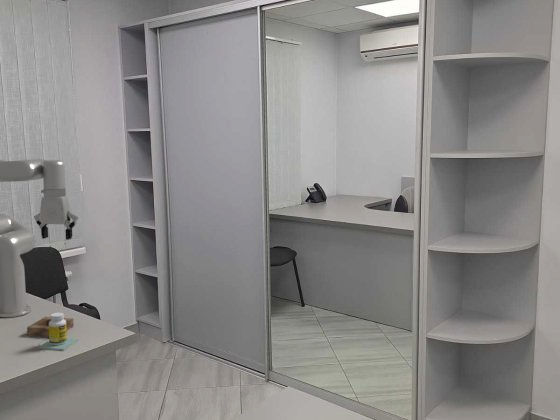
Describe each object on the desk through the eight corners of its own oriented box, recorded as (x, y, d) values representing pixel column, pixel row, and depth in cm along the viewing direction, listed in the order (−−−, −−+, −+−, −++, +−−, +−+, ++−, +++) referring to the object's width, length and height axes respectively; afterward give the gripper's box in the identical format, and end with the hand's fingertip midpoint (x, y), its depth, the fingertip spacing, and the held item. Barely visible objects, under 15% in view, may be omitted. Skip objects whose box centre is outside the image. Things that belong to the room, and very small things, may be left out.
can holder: (27, 335, 191) (27, 327, 190) (45, 324, 202) (45, 316, 201) (56, 337, 189) (56, 329, 189) (73, 326, 200) (73, 318, 199)
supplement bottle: (61, 346, 180) (59, 317, 179) (46, 345, 181) (44, 316, 180) (70, 340, 185) (69, 312, 184) (55, 339, 186) (54, 311, 185)
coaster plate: (38, 348, 179) (38, 347, 179) (53, 338, 188) (53, 337, 188) (63, 350, 178) (63, 349, 178) (78, 340, 187) (78, 338, 187)
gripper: (27, 193, 202) (30, 239, 205) (71, 195, 200) (73, 241, 202) (39, 191, 210) (41, 235, 212) (81, 193, 207) (83, 237, 209)
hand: (57, 238), depth 207 cm, fingers open, 9 cm apart
